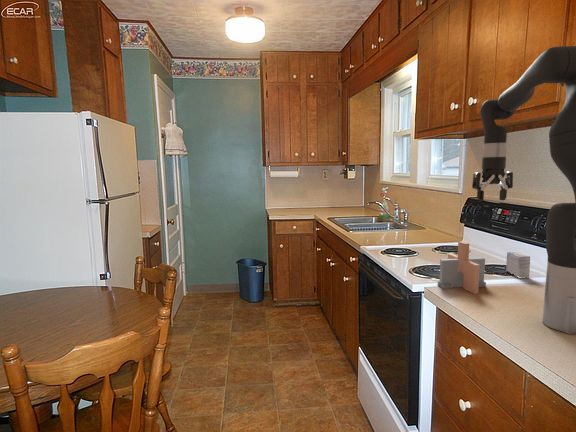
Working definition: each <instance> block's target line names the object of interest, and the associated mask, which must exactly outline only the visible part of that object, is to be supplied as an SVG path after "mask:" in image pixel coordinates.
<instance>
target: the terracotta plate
mask: <svg viewBox="0 0 576 432" xmlns="http://www.w3.org/2000/svg"><path fill="white" fill-rule="evenodd" d="M469 256H470V243H469V242H466V241H463V240H461V241H458V242H457V255H456V254H454V253H447V259H458V260H459V265H458V272H460V273H462V274H464V276H463V287H462V288H463V290H466V291H468V292H469V293H471V294H474V295H476V294H477V295H478V294H479V287H478V286H479V269H480V265H479V264H476V263H474V262H471V261H469V258H470V257H469Z"/></svg>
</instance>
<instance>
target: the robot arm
mask: <svg viewBox="0 0 576 432" xmlns="http://www.w3.org/2000/svg"><path fill="white" fill-rule="evenodd" d="M543 84H564V86H565V99H564V100H565V101H564V104H563V106H562V108H561V110H560V111H559V112H558V114H557V116H556V118H555V119H554V121H553V122H552V124H551V126H550V129H549V133H548V139H549V141H548V142H549V153H550V157H551V159H552V161H553V163H554V164H555V166H557V168H558V169H559V170H560V172H561V173H562V174H563V176H564V177H566V179H567V180H568V182H569V184H570V185H571V188H572V190H573V195H574V201H575V202H560V203H555V204H553V205H552V206H551V207H550V208H549V210H548V212H547V216H546V227H545V228H546V229H545V230H546V233H545V234H546V235H545V236H546V238H545V239H546V242H545V249H546V254H547V265H546V273H545V275H546V277H545V287H544V298H543V299H544V300H543V311H542V324H543V325H545V326H546V327H549V328H550V329H553V330H556V331H559V332H563V333H566V334H568V335H571V334H572V335H573V334H576V247H575V239H576V45H562V46H561V45H560V46H553V47H552V46H551V47H549V48H547V49H546V50H544V51H542V52H541V54H540V55H539V56H538V57H537V58H536V59H535V60H534V61H533V63H532V64H531V65H530V66H528V68H527V69H526V70H525V72H524V73H523V74H522V75H521V77H519V79H518V80H516V82H515V83H513V84H512V85H511V86H510V87H509V88H507V89H505V91H503V92H502V93H501V94H500V95H499V97H498V99H487V100H485V101H483V103H482V105H481V106H480V109H479V115H480V119H481V122H482V127H483V132H484V135H483V136H484V137H483V138H484V139H483V147H482V148H483V149H482V158H481V169H482V171H481V172H474V173H473V174H472V176H473V177H472V183H471V185H472V186H471V188H472V189H474V190H476V191H477V192H476V195H477V196H476V198H477V200H478V202H479V201H480V202H483V201H484V199H485V191H484V190H485V189H486V187H488V186H489V185H496V186H498V187H499V201H505V200H506V199H507V195H508V194H507V193H508V192H507V191H508V190H509V189H513V183H514V182H513V181H514V173H513V171H506V172H505V169H506V165H507V151H508V150H507V148H508V147H507V140H508V139H507V137H508V136H507V135H508V130H507V127H505V126H503V125H502V126H501V125H498V124H497V123H496V121H497V120H499V121H501V120H502V121H504V120H507V119H510V118H511V117H512V116H513V115H514V114H515V113H516V111H517V110H518V109H519V108H520V107H522V106H523V105H525V104H526V103H527V102H528V101H530V100H531V99H532V97H533V96H534V93H535V90H536V87H537V86H540V85H543Z"/></svg>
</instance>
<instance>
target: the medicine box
mask: <svg viewBox="0 0 576 432" xmlns="http://www.w3.org/2000/svg"><path fill="white" fill-rule="evenodd" d="M530 266H531V256H530V255H527V254H525V253H522V252H519V251H508V252H507V253H506V266H505V267H506V268H505V272H506V271H508V272H510V273H512V274H514V275H516V276H519V277H529V278H530V273H531V271H530V270H531V269H530V268H531V267H530Z"/></svg>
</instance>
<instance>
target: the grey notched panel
mask: <svg viewBox="0 0 576 432" xmlns="http://www.w3.org/2000/svg"><path fill="white" fill-rule="evenodd" d="M469 261H471V262H474V263H476V264H479V265H480V269H479V286H478V288H481V287H483V288H486V287H487V281H485V267H486V258H485V257H469ZM458 265H459V260H458V259H448V258H447V259H446V258H445V259H444V258H442V259H440V260H439V280H438V281H437V286H438V287H440V288H441V289H443V290H447V289H448V290H449V289H452V288H463V276H464V274H462V273H460V272H458Z"/></svg>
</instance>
